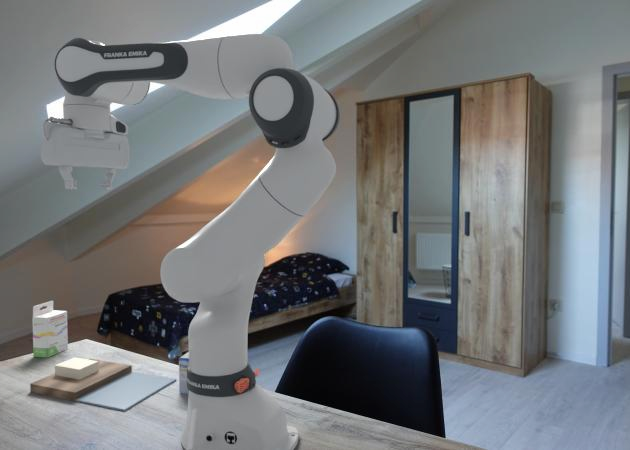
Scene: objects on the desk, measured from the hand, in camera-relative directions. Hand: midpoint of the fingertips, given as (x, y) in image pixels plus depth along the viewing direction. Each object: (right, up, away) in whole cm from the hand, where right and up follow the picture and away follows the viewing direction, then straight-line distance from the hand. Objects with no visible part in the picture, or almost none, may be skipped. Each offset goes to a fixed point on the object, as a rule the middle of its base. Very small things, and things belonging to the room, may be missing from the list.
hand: (89, 189), depth 100 cm
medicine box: (+18, -47, +16) cm, 53 cm away
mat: (+3, -47, +14) cm, 49 cm away
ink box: (-30, -45, +40) cm, 68 cm away
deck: (-10, -47, +19) cm, 51 cm away
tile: (-12, -45, +20) cm, 50 cm away
